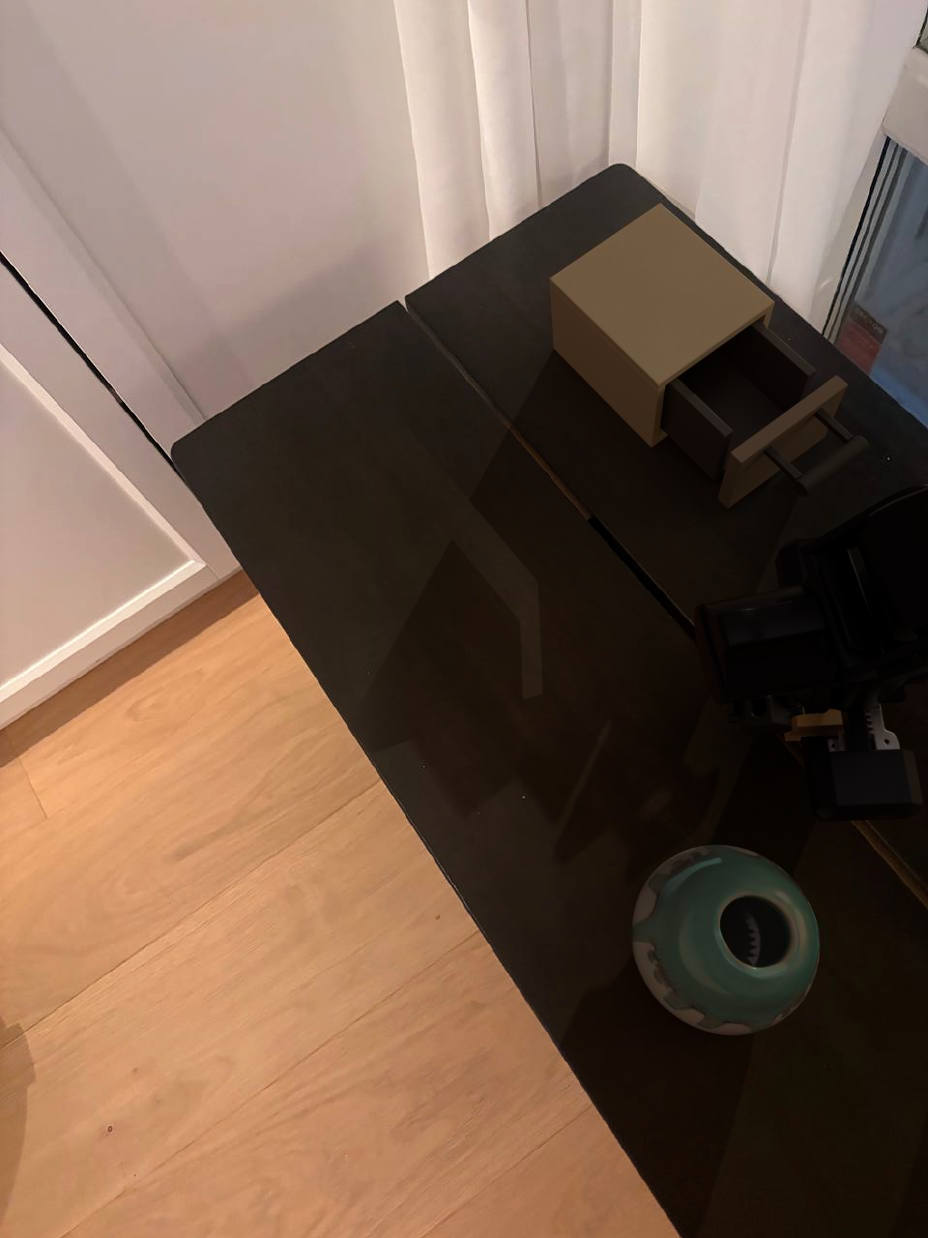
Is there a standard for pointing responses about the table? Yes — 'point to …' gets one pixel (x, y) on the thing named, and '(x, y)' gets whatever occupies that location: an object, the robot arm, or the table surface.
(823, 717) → the block
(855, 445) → the pull-out drawer box
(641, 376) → the beige drawer cabinet
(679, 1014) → the vase
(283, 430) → the table surface
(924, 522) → the robot arm
